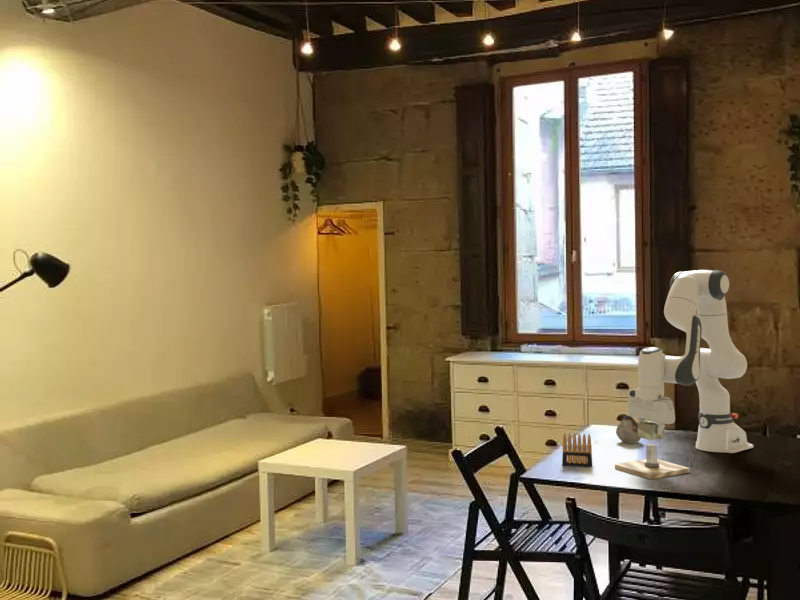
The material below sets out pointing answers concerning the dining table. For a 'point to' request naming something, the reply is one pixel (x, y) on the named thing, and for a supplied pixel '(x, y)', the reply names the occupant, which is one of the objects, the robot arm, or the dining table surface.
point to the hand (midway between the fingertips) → (651, 432)
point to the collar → (649, 430)
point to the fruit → (628, 430)
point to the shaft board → (652, 466)
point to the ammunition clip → (577, 452)
